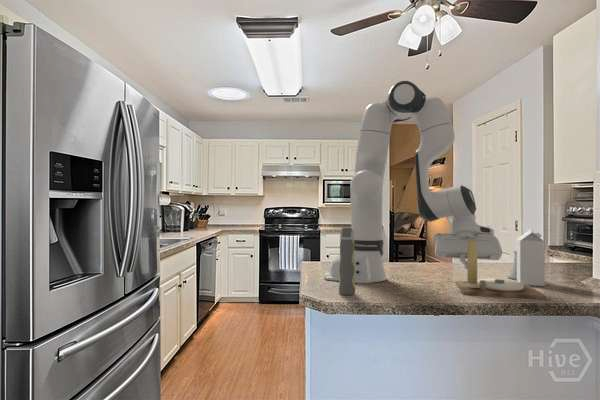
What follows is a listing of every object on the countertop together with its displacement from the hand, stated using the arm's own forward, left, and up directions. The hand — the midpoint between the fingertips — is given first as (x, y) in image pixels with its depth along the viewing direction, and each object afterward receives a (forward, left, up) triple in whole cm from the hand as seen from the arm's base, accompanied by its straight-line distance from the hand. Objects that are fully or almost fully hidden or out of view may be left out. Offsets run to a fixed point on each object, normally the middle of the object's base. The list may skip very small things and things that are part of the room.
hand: (470, 268), depth 119 cm
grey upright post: (-37, -16, -7) cm, 41 cm away
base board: (+8, 0, -7) cm, 10 cm away
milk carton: (+22, +15, -7) cm, 27 cm away
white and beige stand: (+7, 0, -6) cm, 9 cm away
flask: (+21, +24, -7) cm, 33 cm away
